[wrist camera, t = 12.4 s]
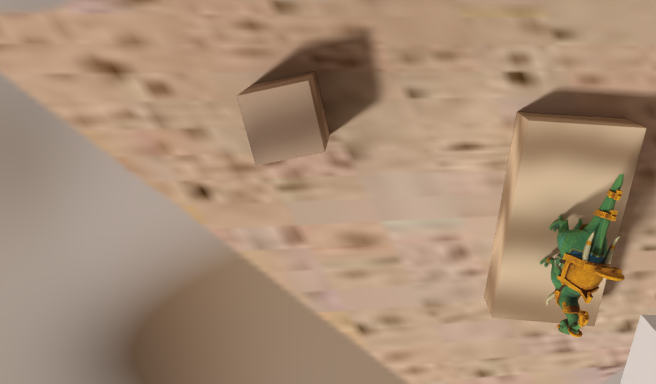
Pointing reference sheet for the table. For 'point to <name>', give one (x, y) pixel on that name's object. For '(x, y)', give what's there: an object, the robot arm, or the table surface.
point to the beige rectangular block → (554, 204)
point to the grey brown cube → (284, 118)
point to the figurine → (583, 261)
